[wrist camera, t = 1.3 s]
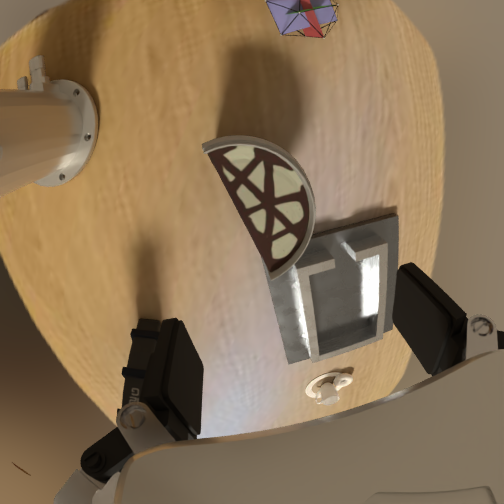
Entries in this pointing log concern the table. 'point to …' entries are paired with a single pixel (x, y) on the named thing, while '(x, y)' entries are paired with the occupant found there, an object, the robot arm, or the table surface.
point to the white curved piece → (329, 387)
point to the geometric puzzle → (302, 15)
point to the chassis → (338, 290)
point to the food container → (267, 196)
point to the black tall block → (139, 358)
